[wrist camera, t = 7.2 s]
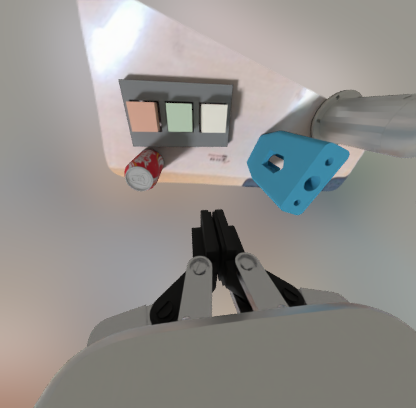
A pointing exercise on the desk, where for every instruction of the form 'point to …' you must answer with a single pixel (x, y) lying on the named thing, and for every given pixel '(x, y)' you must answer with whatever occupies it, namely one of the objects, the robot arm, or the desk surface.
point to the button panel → (177, 94)
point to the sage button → (179, 117)
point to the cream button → (213, 118)
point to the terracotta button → (143, 116)
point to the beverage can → (144, 170)
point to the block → (294, 168)
